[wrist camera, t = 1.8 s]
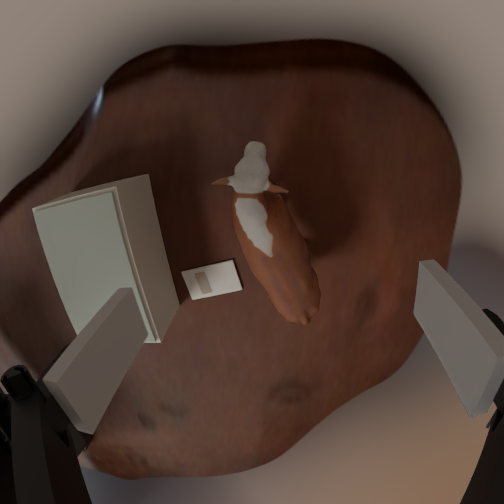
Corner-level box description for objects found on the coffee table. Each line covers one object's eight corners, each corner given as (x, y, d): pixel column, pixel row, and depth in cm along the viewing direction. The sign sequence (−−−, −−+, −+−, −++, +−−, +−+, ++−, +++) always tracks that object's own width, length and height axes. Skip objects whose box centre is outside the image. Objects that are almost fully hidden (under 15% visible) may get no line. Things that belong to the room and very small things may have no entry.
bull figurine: (271, 134, 23) (269, 135, 16) (319, 280, 28) (332, 335, 20) (220, 152, 24) (194, 162, 17) (273, 294, 28) (271, 351, 21)
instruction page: (192, 298, 29) (192, 300, 29) (181, 271, 28) (181, 272, 28) (242, 288, 28) (242, 289, 28) (232, 259, 27) (232, 260, 27)
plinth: (105, 308, 31) (77, 342, 25) (70, 192, 26) (30, 209, 20) (179, 305, 30) (159, 344, 24) (148, 173, 25) (114, 187, 19)
